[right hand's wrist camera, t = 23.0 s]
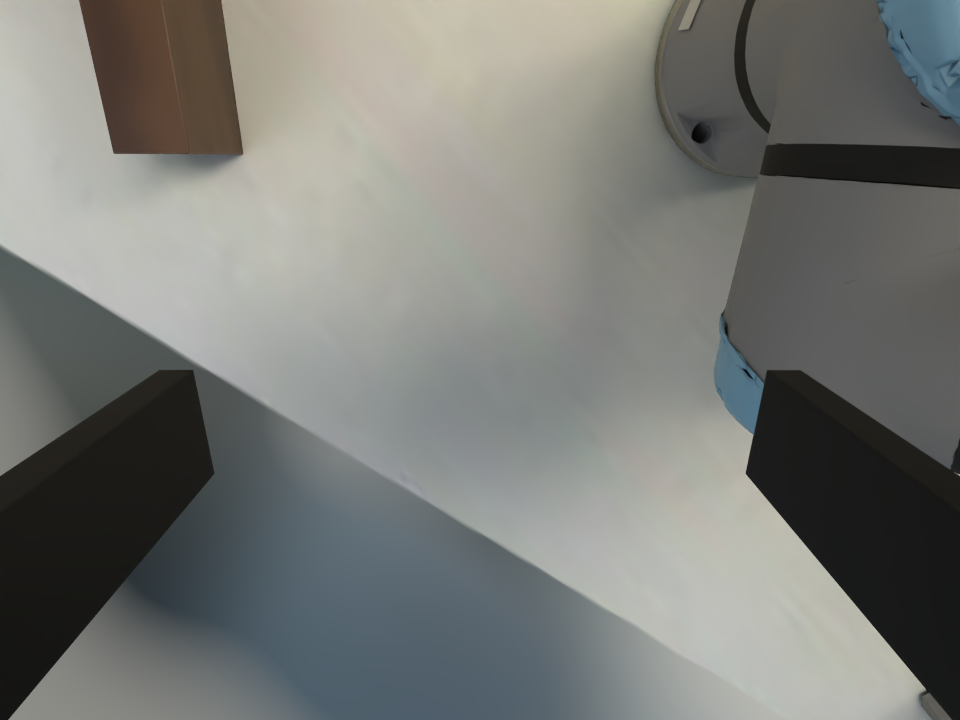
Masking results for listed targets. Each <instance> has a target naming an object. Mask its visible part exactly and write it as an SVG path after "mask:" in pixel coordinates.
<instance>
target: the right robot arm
mask: <svg viewBox="0 0 960 720" xmlns="http://www.w3.org/2000/svg"><path fill="white" fill-rule="evenodd" d="M655 83H656V94H657V100H658V105H659V109H660V112H661V115H662V118H663V121H664V123H665V125H666V127H667V129H668V131H669V133H670V135H671V136H672V138H673V139H674V141H675V142H676V143H677V145H678V146H679V147H680V148H681V149H682V150H683V152H684V153H685V154H687V155H688V156H689V157H690V158H691V159H692V160H694V161H695V162H697V163H698V164H700V165H702V166H703V167H705V168H707V169H709V170H712V171H714V172H717V173H721V174H724V175H729V176H736V177H750V178H758V179H757V183H756V188H755V192H754V196H753V200H752V204H751V209H750V213H749V217H748V221H747V225H746V229H745V233H744V237H743V241H742V245H741V249H740V253H739V257H738V261H737V265H736V269H735V273H734V277H733V281H732V285H731V288H730V292H729V296H728V300H727V304H726V308H725V310H724V311H723V313H722V314H721V317H720V321H719V332H720V335H721V336H720V341H719V347H718V352H717V358H716V363H715V368H714V381H715V386H716V390H717V392H718V394H719V395H720V397H721V399H722V400H723V401H724V403H725V406H726V408H727V410H728V411H729V412H730V414H731V415H732V416H733V417H734V418H735V419H736V420H737V421H738V422H739V423H740V424H741V425H742V426H743V427H744V428H746V429H747V430H748V431H749V432H750V433H752V434H753V440H752V445H751V450H750V455H749V460H748V465H747V470H746V475H747V476H748V477H749V478H750V479H751V481H752V482H753V483H754V484H755V485H756V487H757V488H758V489H759V490H760V491H761V493H762V494H763V495H764V496H765V497H766V498H767V500H768V501H769V502H770V503H771V504H772V506H773V507H774V508H775V509H776V510H777V512H778V513H779V514H780V515H781V516H782V518H783V519H784V520H785V521H786V522H787V524H788V525H789V526H790V527H791V528H792V530H793V531H794V532H795V533H796V534H797V535H798V537H799V538H800V539H801V540H802V541H803V543H804V544H805V545H806V546H807V547H808V549H809V550H810V551H811V552H812V553H813V555H814V556H815V557H816V558H817V559H818V561H819V562H820V563H821V564H822V565H823V567H824V568H825V569H826V570H827V571H828V572H829V574H830V575H831V576H832V577H833V578H834V580H835V581H836V582H837V583H838V584H839V586H840V587H841V588H842V589H843V590H844V592H845V593H846V594H847V595H848V596H849V598H850V599H851V600H852V601H853V602H854V604H855V605H856V606H857V607H858V608H859V609H860V611H861V612H862V613H863V614H864V615H865V617H866V618H867V619H868V620H869V621H870V623H871V624H872V625H873V626H874V627H875V629H876V630H877V631H878V632H879V633H880V635H881V636H882V637H883V638H884V639H885V641H886V642H887V643H888V644H889V645H890V646H891V648H892V649H893V650H894V651H895V652H896V654H897V655H898V656H899V657H900V658H901V660H902V661H903V662H904V663H905V664H906V666H907V667H908V668H909V669H910V670H911V672H912V673H913V674H914V675H915V676H916V678H917V679H918V680H919V681H920V682H921V683H922V685H923V686H924V687H925V688H926V689H927V691H928V692H929V693H930V694H931V695H932V697H933V698H934V699H935V700H936V701H937V703H938V704H939V705H940V706H941V707H942V709H943V710H944V711H945V712H946V713H947V715H948V716H949V717H950V718H951V719H952V720H960V476H959V475H957V474H956V473H958V474H960V0H677V1H676V3H675V4H674V6H673V8H672V10H671V12H670V14H669V17H668V19H667V21H666V24H665V26H664V29H663V32H662V35H661V39H660V43H659V47H658V52H657V59H656V70H655ZM781 176H787V177H781ZM796 177H802V178H796ZM810 178H815V179H810ZM825 179H828V180H825ZM839 180H843V181H839ZM853 181H857V182H853ZM867 182H870V183H867ZM882 183H885V184H882ZM896 184H899V185H896ZM910 185H912V186H910ZM924 186H926V187H924ZM938 187H939V188H938ZM954 472H955V473H954ZM213 475H214V470H213V465H212V460H211V455H210V450H209V445H208V441H207V435H206V431H205V426H204V421H203V416H202V411H201V406H200V401H199V397H198V392H197V387H196V382H195V377H194V372H193V370H159V371H157V372H156V373H154V374H153V375H151V376H150V377H148V378H147V379H145V380H144V381H142V382H141V383H139V384H138V385H136V386H135V387H133V388H132V389H130V390H129V391H127V392H126V393H124V394H123V395H121V396H120V397H118V398H117V399H115V400H114V401H112V402H111V403H109V404H108V405H106V406H105V407H103V408H102V409H100V410H99V411H97V412H96V413H94V414H93V415H91V416H90V417H88V418H87V419H85V420H84V421H82V422H81V423H79V424H78V425H76V426H75V427H73V428H72V429H70V430H69V431H67V432H66V433H64V434H63V435H61V436H60V437H58V438H57V439H55V440H54V441H52V442H51V443H49V444H48V445H46V446H45V447H43V448H42V449H40V450H39V451H37V452H36V453H34V454H33V455H31V456H30V457H28V458H27V459H25V460H24V461H22V462H21V463H19V464H18V465H16V466H15V467H13V468H12V469H10V470H9V471H7V472H6V473H4V474H3V475H1V476H0V720H8V719H9V718H10V717H11V716H12V714H13V713H14V712H15V711H16V710H17V709H18V707H19V706H20V705H21V704H22V703H23V701H24V700H25V699H26V698H27V697H28V695H29V694H30V693H31V692H32V691H33V689H34V688H35V687H36V686H37V685H38V683H39V682H40V681H41V680H42V679H43V678H44V676H45V675H46V674H47V673H48V672H49V670H50V669H51V668H52V667H53V666H54V664H55V663H56V662H57V661H58V660H59V658H60V657H61V656H62V655H63V654H64V652H65V651H66V650H67V649H68V648H69V646H70V645H71V644H72V643H73V642H74V640H75V639H76V638H77V637H78V636H79V635H80V633H81V632H82V631H83V630H84V629H85V627H86V626H87V625H88V624H89V623H90V621H91V620H92V619H93V618H94V617H95V615H96V614H97V613H98V612H99V611H100V609H101V608H102V607H103V606H104V605H105V603H106V602H107V601H108V600H109V599H110V598H111V596H112V595H113V594H114V593H115V592H116V590H117V589H118V588H119V587H120V586H121V584H122V583H123V582H124V581H125V580H126V578H127V577H128V576H129V575H130V574H131V572H132V571H133V570H134V569H135V568H136V566H137V565H138V564H139V563H140V562H141V561H142V559H143V558H144V557H145V556H146V555H147V553H148V552H149V551H150V550H151V549H152V547H153V546H154V545H155V544H156V543H157V541H158V540H159V539H160V538H161V537H162V535H163V534H164V533H165V532H166V531H167V530H168V528H169V527H170V526H171V525H172V523H173V522H174V521H175V520H176V519H177V518H178V516H179V515H180V514H181V513H182V512H183V510H184V509H185V508H186V507H187V506H188V504H189V503H190V502H191V501H192V500H193V498H194V497H195V496H196V495H197V494H198V492H199V491H200V490H201V489H202V488H203V487H204V485H205V484H206V483H207V482H208V481H209V479H210V478H211V477H212V476H213Z"/></svg>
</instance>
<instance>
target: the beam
mask: <svg viewBox="0 0 960 720" xmlns="http://www.w3.org/2000/svg"><path fill="white" fill-rule="evenodd" d="M79 2H80V6H81V10H82V15H83V19H84V24H85V28H86V33H87V37H88V41H89V46H90V50H91V55H92V59H93V64H94V68H95V73H96V77H97V81H98V86H99V90H100V95H101V99H102V104H103V108H104V112H105V117H106V121H107V126H108V130H109V135H110V139H111V143H112V148H113V152H114V154H243V149H242V142H241V136H240V129H239V122H238V115H237V108H236V101H235V94H234V87H233V81H232V74H231V67H230V60H229V53H228V46H227V39H226V32H225V26H224V19H223V12H222V5H221V0H79Z"/></svg>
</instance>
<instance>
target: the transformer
mask: <svg viewBox="0 0 960 720" xmlns="http://www.w3.org/2000/svg"><path fill="white" fill-rule="evenodd" d="M921 706H922V707H923V708H924V709H925V711H926V712H927V713H928V714H929V716H930V717H931V718H932V719H933V720H952V719H951V718H950V717H949V716H948V715H947V713H946V712H945V711H944V710H943V709H942V707H941V706H940V705H939V704H938V703H937V701H936V700H935V699H934V698H933V697H932V695H931V694H930V693H927V694H925V695H923V696H922V703H921Z"/></svg>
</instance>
